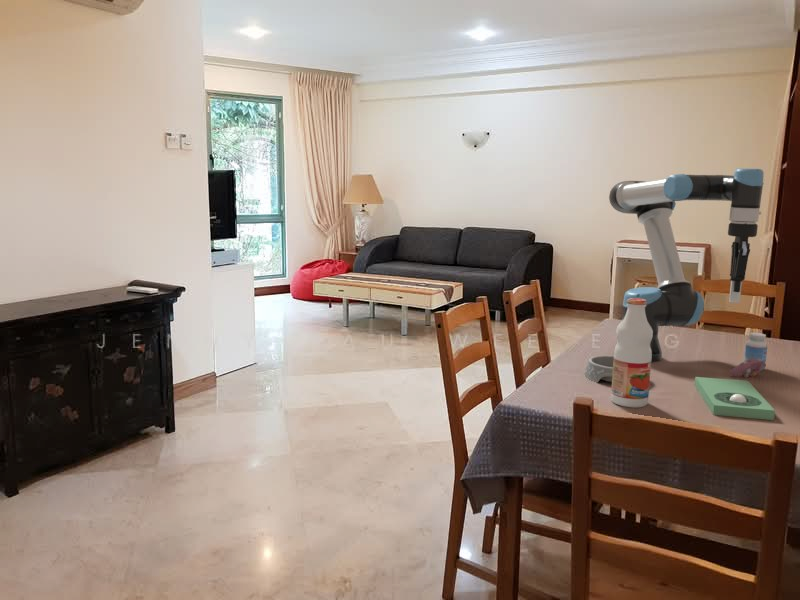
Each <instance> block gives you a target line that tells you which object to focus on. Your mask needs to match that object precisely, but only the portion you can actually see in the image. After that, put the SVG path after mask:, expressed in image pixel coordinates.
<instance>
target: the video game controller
mask: <svg viewBox="0 0 800 600" xmlns="http://www.w3.org/2000/svg"><path fill="white" fill-rule="evenodd" d="M766 366H767V364H765V363H764V362H763V361H760V359H758V360H757V359H749V360H748V361H744V360H743V362H741V363H740V364H738V365H737V366H735V367H733V368H731V369H730V370H729V375H730V376H731V377H738V376H742V377H743V378H745V377H746V378H748V377H749V376H751V377H755V376H756V375H757V374H759V373H760V372H762V371H764V370H765V369H766ZM764 368H765V369H764ZM763 369H764V370H763ZM746 378H745V379H746Z"/></svg>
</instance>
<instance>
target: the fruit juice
mask: <svg viewBox="0 0 800 600" xmlns="http://www.w3.org/2000/svg"><path fill="white" fill-rule="evenodd" d="M627 305H628V309H627V312H626V315H625V317H624V319H623V321H622V320H621V322H620V323H619V324H618V325H617V327H616V330H615V334H616V335H615V336H616V340H617V342H616V344H617V345H616V344H615V347H614V351H613V356H614V361H613V375H612V382H611V391H610V399H611V402H612V403H614V404H616V405H619V406H620V407H626V408H642V407H646V406H647V405H648V401H649V394H650V381H651V380H650V379H651V369H652V362H651V359H652V351H651V348H650V343H651V340H652V337H653V330H652V328H651V326H650V324H649V323H648V321H647V318H646V314H645V307H646V305H647V300H645V299H640V298H628V299H627Z"/></svg>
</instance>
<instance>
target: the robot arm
mask: <svg viewBox="0 0 800 600" xmlns="http://www.w3.org/2000/svg"><path fill="white" fill-rule="evenodd" d="M733 174H734V175H727V174H725V175H724V174H685V173H678V174H670V175H669V176H668V177H665V178H659V179H652V180H624V181H620V182H618V183H616V184H615V185H613V187H612V188H610V189H611V190H610V192H609V196H608V199H609V203H610V205H611V207H612V208H613V209H614V210H615V211H617V212H619V213H622V214H629V215H630V214H632V215H633V214H634V215H635V214H636V217H637V220H638V223H641V224H642V225H643V226H644V230H645V236H646V239H647V243H648V247H649V252H650V255H651V260H652V264H653V267H654V272H655V277H656V280H657V284H658V286H657V287H655V286H654V287H652V286H646V287H645V286H643V287H633V288H631V289H630V288H629V289H628V290H627V291H625V293H624V296H623V302H622V316H621V317H622V318H621V322H622V321H623V319H624V317H625V315H626V312H627V309H628V305H627V299H628V298H640V299H645V300H647V305H646V307H645V314H646V318H647V321H648V323H649V324H650V326H651V328H652V330H653V337H652V340H651V343H650V348H651V351H652V359H651V363H656V362H661V361H662V357H663V352H662V348H661V344H660V341H659V340H660V339H659V327H672V326H673V327H675V326H677V327H685V326H691V325H694V324H697V322H698V321H700V319H701V317H702V315H703V313H704V308H705V302H704V297H703V296H702V294H701V293H700V292H699V291H697V290H695V289H694V290H693V286H692V283H691V282H690V281H689V280H687V279H685V276H684V271H683V268H682V263H681V259H680V256H679V253H678V252H679V251H678V248H677V244H676V241H675V240H676V239H675V236H674V233H673V229H672V224H671V220H670V217H671V216H672V214H673V211H674V209H675V207H676V204H677V203H676V202H681V201H718V202H719V201H722V202H723V201H725V202H728V201H729V202H731V204H730V208H729V218H728V220H729V221H730V222H729V224H728V229H727V235H728V236H730V237H735V238H734V241H732V244H731V258H730V273H729V276H730V278H729V281H730V289H729V296H728V302H729V303H734V304H735V303H736V304H740V303H741V295H742V287H743V286H742V285H743V281H745V278H746V272H747V266H748V261H749V260H748V259H749V256H750V253H751V249H750V246H751V243H749V238H755V237H756V236H757V235H758V227H759V226H758V224H757V222H759V216H760V215H761V214H762V211H760V208H761V201H762V196H763V195H762V194H763V189H764V187H763V186H764V170H762V169H761V168H736V169H735V170H734V173H733ZM616 345H617V343H616V344H615V346H616Z"/></svg>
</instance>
